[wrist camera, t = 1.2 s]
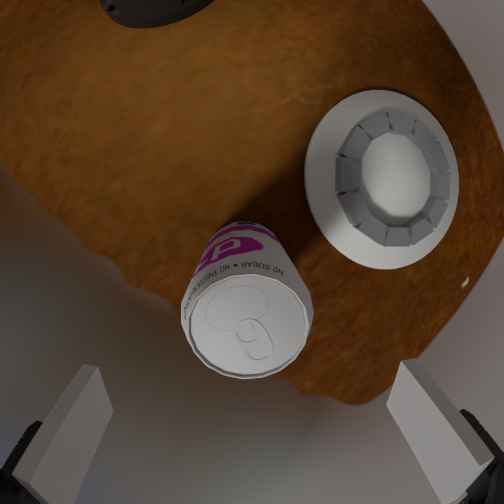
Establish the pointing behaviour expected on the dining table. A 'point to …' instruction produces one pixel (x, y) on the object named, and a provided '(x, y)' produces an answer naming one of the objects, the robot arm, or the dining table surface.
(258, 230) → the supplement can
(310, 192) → the round tray
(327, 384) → the dining table surface
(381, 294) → the dining table surface
